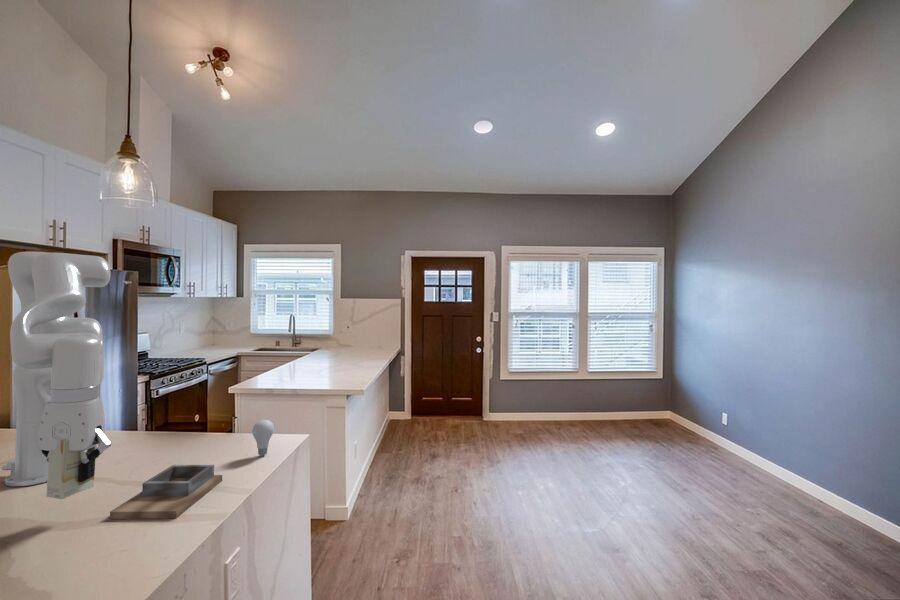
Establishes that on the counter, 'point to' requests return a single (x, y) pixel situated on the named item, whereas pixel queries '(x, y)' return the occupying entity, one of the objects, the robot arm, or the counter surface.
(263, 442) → the lightbulb
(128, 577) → the counter surface
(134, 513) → the holder board
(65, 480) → the skincare box
